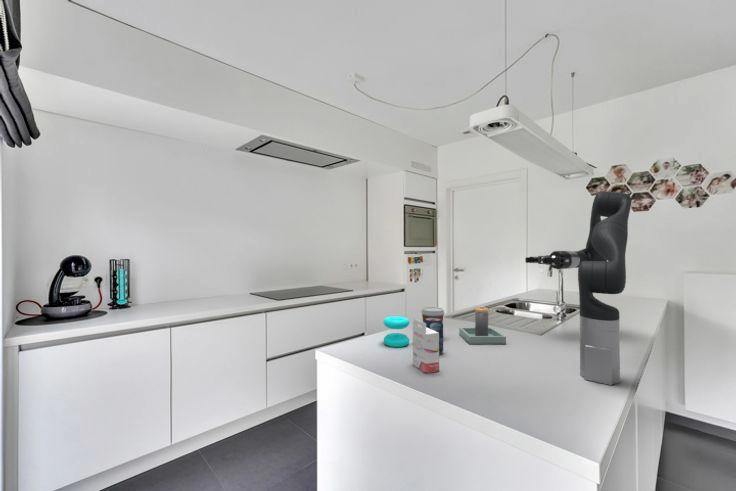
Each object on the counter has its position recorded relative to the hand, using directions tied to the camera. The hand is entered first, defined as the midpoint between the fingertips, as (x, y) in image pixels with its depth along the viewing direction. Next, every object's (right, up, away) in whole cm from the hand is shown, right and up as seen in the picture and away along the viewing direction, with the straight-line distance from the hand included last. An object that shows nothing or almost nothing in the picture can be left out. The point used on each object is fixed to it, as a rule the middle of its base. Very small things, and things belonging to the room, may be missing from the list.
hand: (534, 260), depth 127 cm
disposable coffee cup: (-40, -32, +3) cm, 52 cm away
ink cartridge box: (-49, -32, -29) cm, 65 cm away
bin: (-21, -32, +1) cm, 38 cm away
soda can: (-44, -32, -15) cm, 56 cm away
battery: (-21, -31, +1) cm, 38 cm away
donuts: (-56, -32, -4) cm, 65 cm away
